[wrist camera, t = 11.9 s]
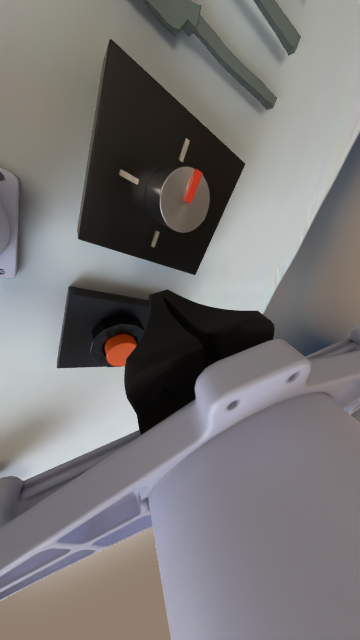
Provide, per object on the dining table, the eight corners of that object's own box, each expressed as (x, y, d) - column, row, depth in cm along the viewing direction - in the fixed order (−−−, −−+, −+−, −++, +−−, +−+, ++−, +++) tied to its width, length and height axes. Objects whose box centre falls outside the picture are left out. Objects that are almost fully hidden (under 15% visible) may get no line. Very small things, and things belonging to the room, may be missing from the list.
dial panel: (76, 231, 17) (78, 239, 15) (103, 61, 12) (110, 35, 10) (184, 266, 24) (196, 275, 21) (226, 165, 19) (246, 163, 17)
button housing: (57, 358, 23) (55, 380, 21) (68, 286, 19) (68, 302, 17) (146, 357, 30) (153, 373, 27) (168, 303, 26) (179, 317, 23)
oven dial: (178, 231, 18) (197, 241, 15) (138, 213, 15) (153, 221, 13) (196, 184, 16) (221, 185, 13) (154, 156, 14) (175, 151, 11)
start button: (101, 356, 22) (103, 367, 21) (108, 332, 20) (110, 342, 19) (131, 356, 24) (134, 366, 23) (139, 334, 22) (143, 343, 21)
